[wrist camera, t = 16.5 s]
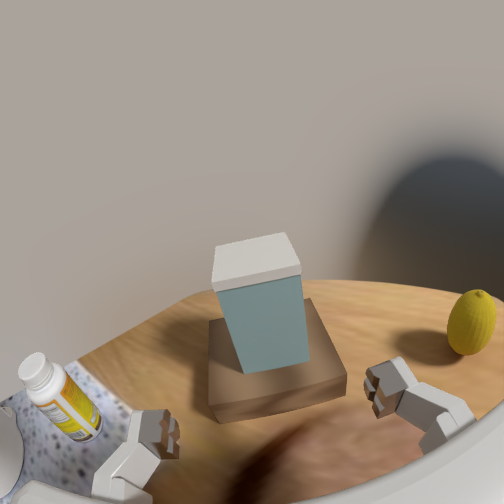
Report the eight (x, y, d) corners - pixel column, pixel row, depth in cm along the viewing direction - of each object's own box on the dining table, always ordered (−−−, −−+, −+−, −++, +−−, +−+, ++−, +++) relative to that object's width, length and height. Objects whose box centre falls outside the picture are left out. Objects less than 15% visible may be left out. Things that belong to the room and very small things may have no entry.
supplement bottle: (90, 401, 25) (42, 339, 21) (113, 423, 22) (57, 360, 18) (63, 426, 21) (8, 367, 17) (82, 453, 18) (18, 394, 14)
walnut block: (221, 426, 22) (208, 405, 20) (218, 344, 33) (209, 320, 31) (345, 397, 22) (347, 373, 20) (312, 323, 33) (309, 297, 31)
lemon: (431, 358, 22) (449, 297, 19) (450, 328, 25) (465, 269, 21) (472, 377, 18) (500, 317, 14) (486, 344, 20) (508, 285, 17)
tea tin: (243, 375, 23) (211, 282, 19) (240, 331, 29) (215, 246, 24) (311, 361, 23) (300, 263, 19) (297, 319, 28) (284, 231, 24)
